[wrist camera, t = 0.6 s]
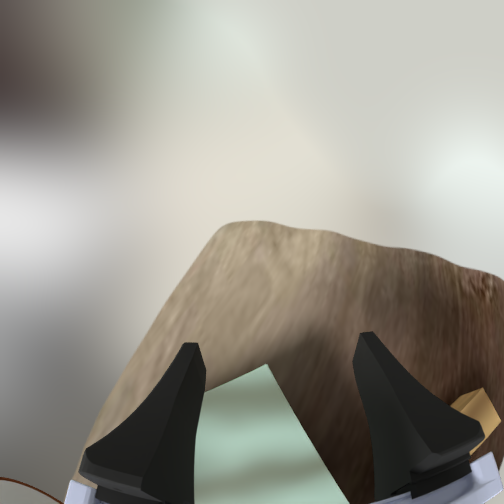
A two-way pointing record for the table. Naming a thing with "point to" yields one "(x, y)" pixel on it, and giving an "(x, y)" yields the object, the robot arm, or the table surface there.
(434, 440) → the robot arm
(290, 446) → the socket shed
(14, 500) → the magnifying glass
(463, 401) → the peg
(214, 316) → the table surface
